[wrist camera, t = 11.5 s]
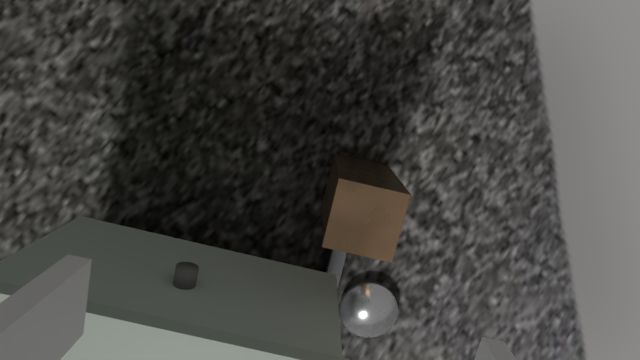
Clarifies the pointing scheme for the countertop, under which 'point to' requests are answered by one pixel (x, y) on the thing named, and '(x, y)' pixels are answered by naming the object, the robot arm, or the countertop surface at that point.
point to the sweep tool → (361, 211)
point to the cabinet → (185, 298)
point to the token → (368, 308)
